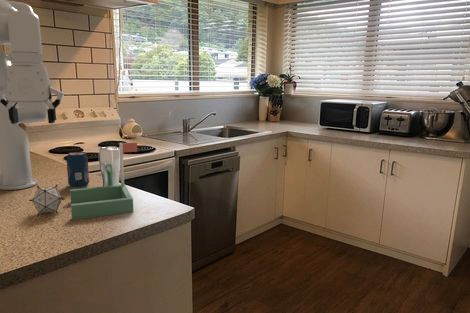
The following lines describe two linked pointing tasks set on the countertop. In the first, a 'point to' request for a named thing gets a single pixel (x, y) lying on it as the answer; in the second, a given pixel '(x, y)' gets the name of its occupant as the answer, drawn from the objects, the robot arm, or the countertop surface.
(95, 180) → the countertop surface
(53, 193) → the game die
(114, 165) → the beer glass
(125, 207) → the green open box
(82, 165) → the soda can
